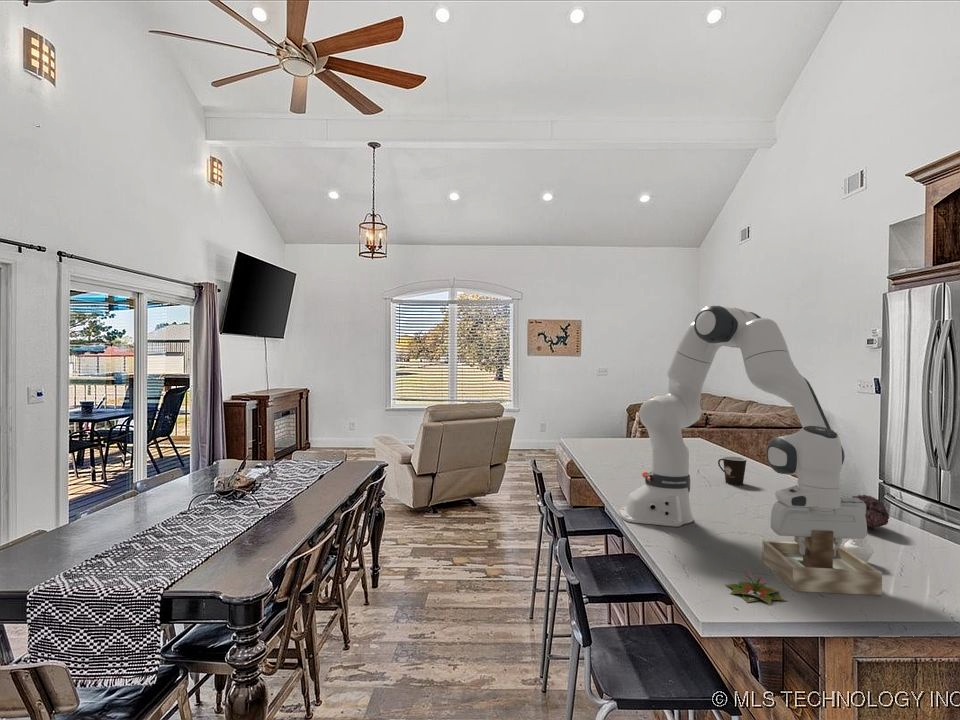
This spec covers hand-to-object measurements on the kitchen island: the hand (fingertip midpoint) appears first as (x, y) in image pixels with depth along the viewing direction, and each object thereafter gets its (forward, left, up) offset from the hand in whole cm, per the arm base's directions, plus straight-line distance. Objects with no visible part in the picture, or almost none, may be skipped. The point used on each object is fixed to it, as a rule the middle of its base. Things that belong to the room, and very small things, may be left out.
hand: (817, 555), depth 130 cm
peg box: (0, 0, -5) cm, 5 cm away
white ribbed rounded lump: (+15, +11, -5) cm, 19 cm away
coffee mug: (+13, +96, -5) cm, 97 cm away
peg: (0, 0, -4) cm, 4 cm away
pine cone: (+33, +40, -5) cm, 52 cm away
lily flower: (-18, -11, -6) cm, 22 cm away
